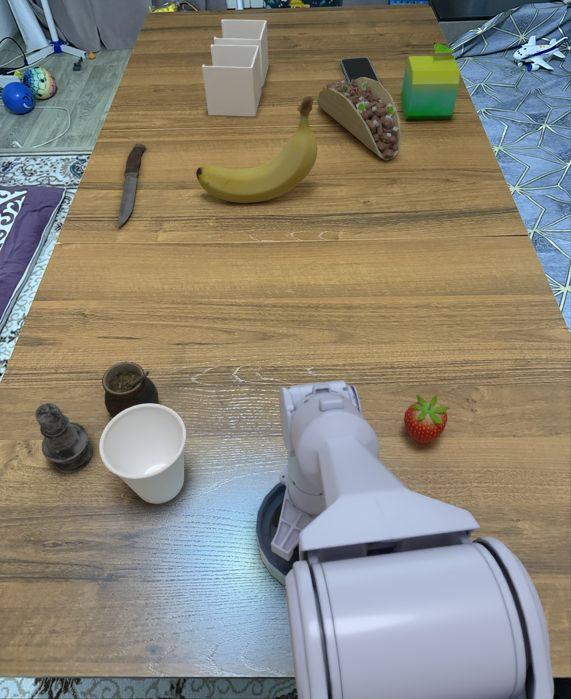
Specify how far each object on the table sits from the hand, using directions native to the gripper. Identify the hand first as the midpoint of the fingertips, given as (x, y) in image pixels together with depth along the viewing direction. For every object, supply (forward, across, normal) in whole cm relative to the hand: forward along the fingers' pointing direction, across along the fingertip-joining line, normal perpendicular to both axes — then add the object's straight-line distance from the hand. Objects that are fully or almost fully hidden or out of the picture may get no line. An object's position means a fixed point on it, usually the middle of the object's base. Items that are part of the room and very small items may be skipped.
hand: (314, 524), depth 66 cm
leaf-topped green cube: (+4, -100, -27) cm, 104 cm away
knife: (+4, -44, -67) cm, 81 cm away
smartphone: (+4, -108, -48) cm, 118 cm away
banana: (+4, -54, -43) cm, 69 cm away
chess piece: (+4, +6, -33) cm, 34 cm away
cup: (+4, +4, -21) cm, 21 cm away
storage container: (+4, -88, -70) cm, 113 cm away
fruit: (+4, -20, +6) cm, 21 cm away
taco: (+4, -85, -37) cm, 93 cm away
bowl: (+4, 0, 0) cm, 4 cm away
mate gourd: (+4, -3, -30) cm, 31 cm away
